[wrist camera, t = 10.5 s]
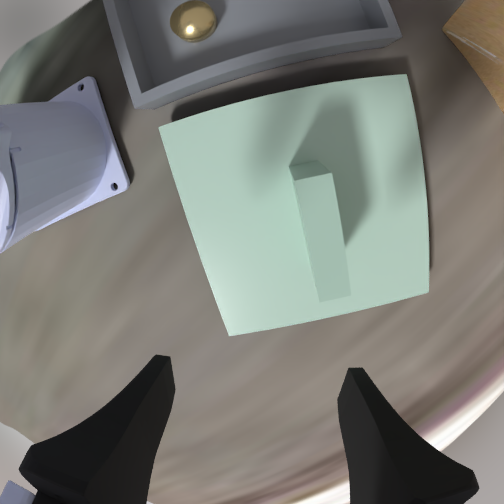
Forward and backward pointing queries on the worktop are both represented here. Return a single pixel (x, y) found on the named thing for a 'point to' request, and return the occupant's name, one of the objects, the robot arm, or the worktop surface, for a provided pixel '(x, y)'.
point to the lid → (306, 201)
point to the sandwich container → (481, 41)
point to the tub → (237, 41)
